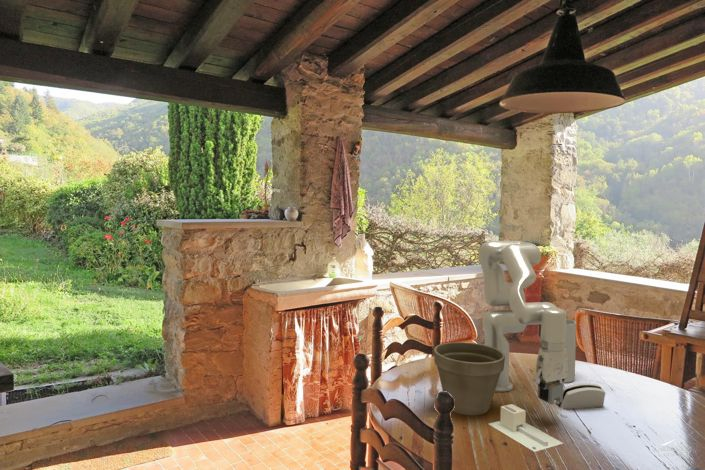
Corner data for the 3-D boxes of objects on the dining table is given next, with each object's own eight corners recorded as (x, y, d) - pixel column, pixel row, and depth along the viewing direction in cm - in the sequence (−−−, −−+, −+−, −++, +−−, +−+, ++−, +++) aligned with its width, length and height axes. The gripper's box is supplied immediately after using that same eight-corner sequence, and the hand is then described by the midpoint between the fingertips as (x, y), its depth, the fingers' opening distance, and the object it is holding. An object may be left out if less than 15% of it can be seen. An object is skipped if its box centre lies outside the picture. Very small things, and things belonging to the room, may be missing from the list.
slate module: (537, 397, 158) (538, 379, 157) (548, 394, 160) (549, 377, 159) (551, 404, 152) (552, 386, 152) (562, 401, 155) (563, 383, 154)
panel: (488, 427, 156) (488, 420, 156) (515, 420, 161) (515, 413, 161) (534, 455, 138) (534, 447, 138) (563, 447, 143) (563, 439, 143)
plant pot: (516, 409, 170) (517, 350, 169) (482, 432, 152) (482, 367, 151) (456, 391, 187) (457, 337, 186) (419, 409, 170) (420, 350, 169)
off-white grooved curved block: (594, 400, 178) (601, 379, 174) (602, 409, 173) (609, 388, 169) (554, 403, 175) (559, 382, 171) (560, 412, 171) (567, 390, 167)
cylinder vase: (537, 377, 202) (538, 320, 201) (551, 371, 210) (552, 316, 209) (566, 385, 193) (567, 325, 191) (579, 378, 201) (581, 321, 199)
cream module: (500, 424, 155) (500, 405, 155) (511, 421, 158) (512, 403, 157) (513, 431, 150) (513, 412, 150) (525, 428, 152) (525, 410, 152)
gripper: (542, 352, 147) (539, 407, 149) (580, 345, 155) (577, 398, 156) (524, 345, 154) (522, 398, 156) (561, 338, 161) (559, 389, 163)
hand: (549, 397), depth 156 cm, fingers closed on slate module, 5 cm apart
